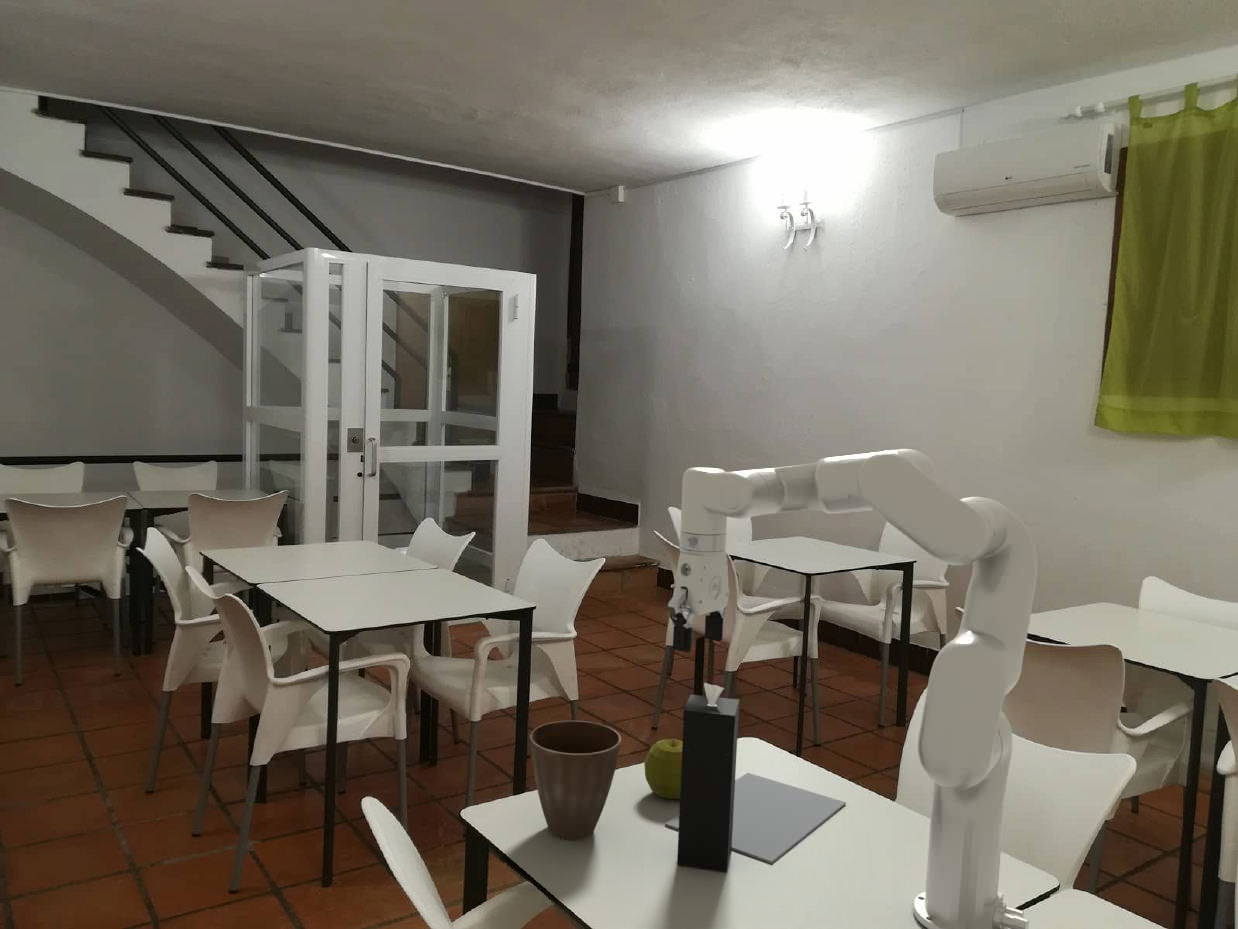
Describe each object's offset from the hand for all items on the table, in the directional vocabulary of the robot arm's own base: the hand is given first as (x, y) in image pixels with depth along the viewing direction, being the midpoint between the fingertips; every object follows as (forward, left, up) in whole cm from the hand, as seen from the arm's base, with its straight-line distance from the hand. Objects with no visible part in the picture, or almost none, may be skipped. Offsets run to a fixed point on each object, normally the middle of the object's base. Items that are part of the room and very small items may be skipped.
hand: (697, 645), depth 160 cm
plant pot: (+14, +14, -32) cm, 37 cm away
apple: (+9, -9, -32) cm, 34 cm away
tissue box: (-8, +7, -31) cm, 33 cm away
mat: (-7, -12, -31) cm, 34 cm away
